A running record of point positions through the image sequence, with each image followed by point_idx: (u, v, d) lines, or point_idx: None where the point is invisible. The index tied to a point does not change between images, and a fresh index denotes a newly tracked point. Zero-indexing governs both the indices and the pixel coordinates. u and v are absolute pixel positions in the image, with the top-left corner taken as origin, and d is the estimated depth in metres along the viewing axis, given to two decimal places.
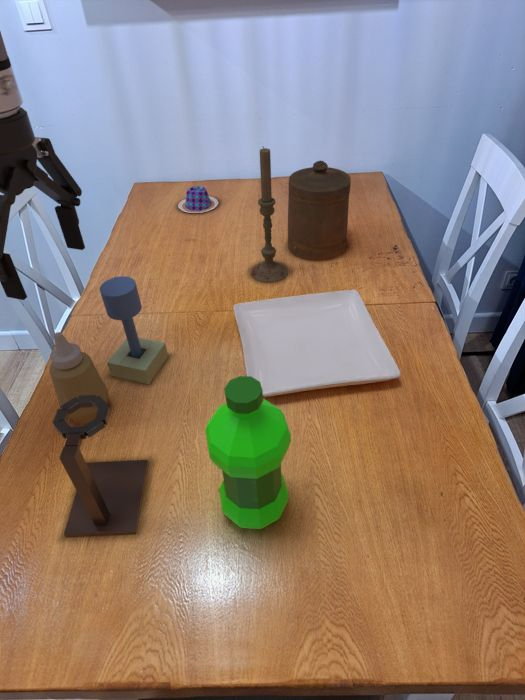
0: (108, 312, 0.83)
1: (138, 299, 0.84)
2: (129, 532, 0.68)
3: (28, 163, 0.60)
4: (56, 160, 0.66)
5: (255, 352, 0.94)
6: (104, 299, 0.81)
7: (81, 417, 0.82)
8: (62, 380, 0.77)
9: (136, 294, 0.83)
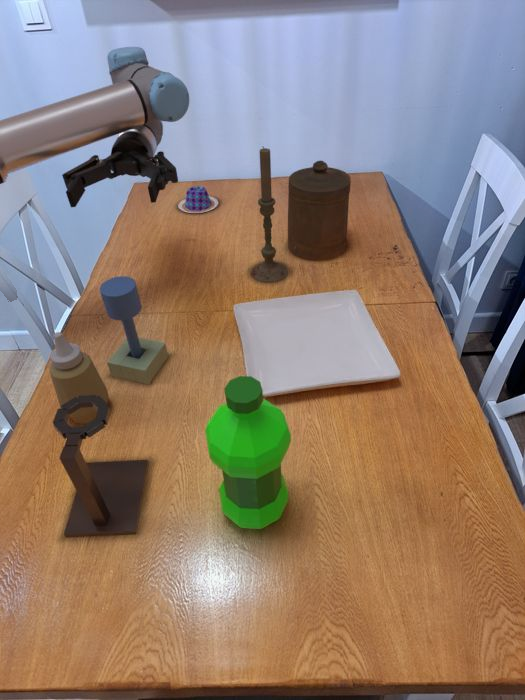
0: (108, 312, 0.83)
1: (138, 299, 0.84)
2: (129, 532, 0.68)
3: None
4: None
5: (255, 352, 0.94)
6: (104, 299, 0.81)
7: (81, 417, 0.82)
8: (62, 380, 0.77)
9: (136, 294, 0.83)
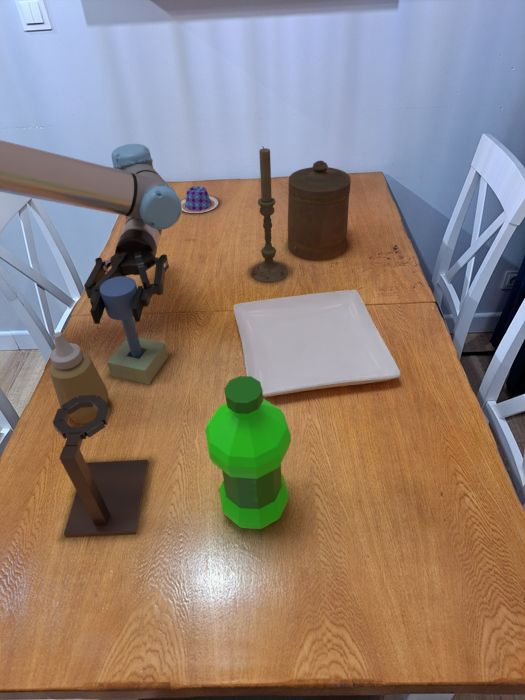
0: (108, 312, 0.83)
1: None
2: (129, 532, 0.68)
3: None
4: None
5: (255, 352, 0.94)
6: (104, 299, 0.81)
7: (81, 417, 0.82)
8: (62, 380, 0.77)
9: None
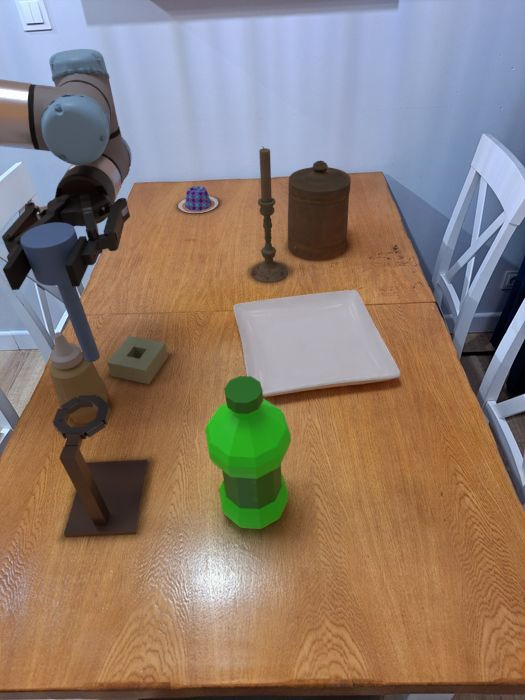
0: (35, 274, 0.57)
1: None
2: (129, 532, 0.68)
3: None
4: None
5: (255, 352, 0.94)
6: (27, 253, 0.55)
7: (81, 417, 0.82)
8: (62, 380, 0.77)
9: None
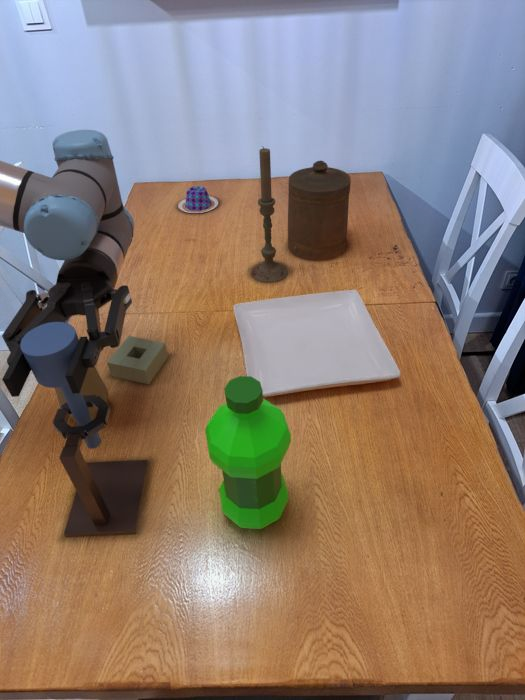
0: (35, 376, 0.56)
1: None
2: (129, 532, 0.68)
3: None
4: None
5: (255, 352, 0.94)
6: (27, 359, 0.54)
7: None
8: None
9: None
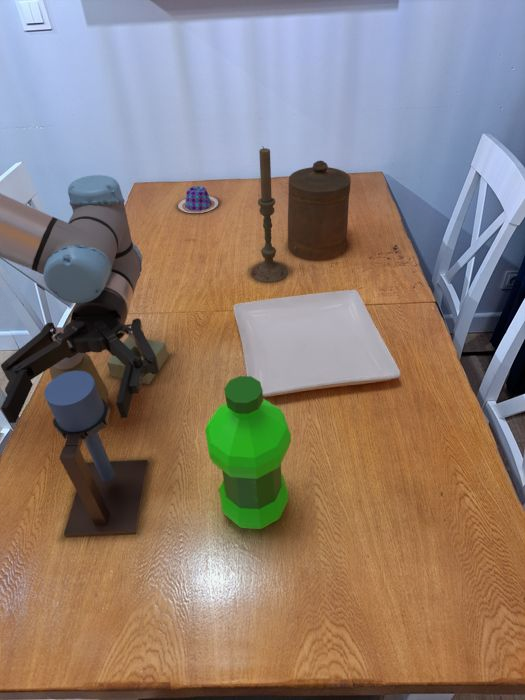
0: (57, 421, 0.61)
1: (98, 403, 0.62)
2: (129, 532, 0.68)
3: None
4: None
5: (255, 352, 0.94)
6: (50, 407, 0.59)
7: None
8: None
9: (95, 397, 0.61)
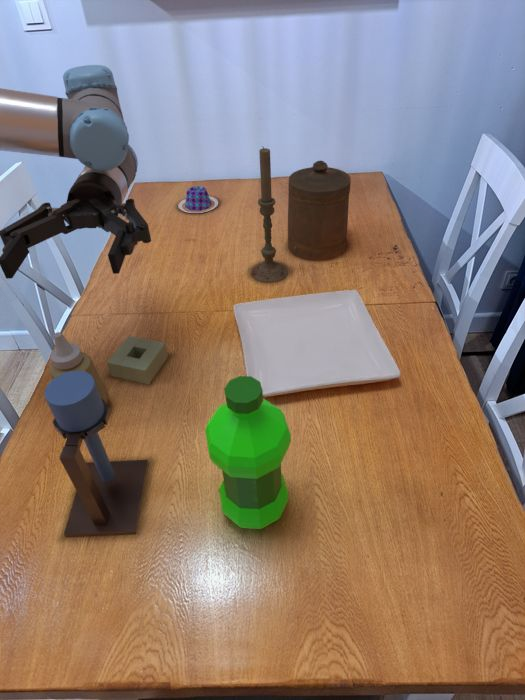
0: (57, 421, 0.61)
1: (98, 403, 0.62)
2: (129, 532, 0.68)
3: None
4: None
5: (255, 352, 0.94)
6: (50, 407, 0.59)
7: None
8: None
9: (95, 397, 0.61)
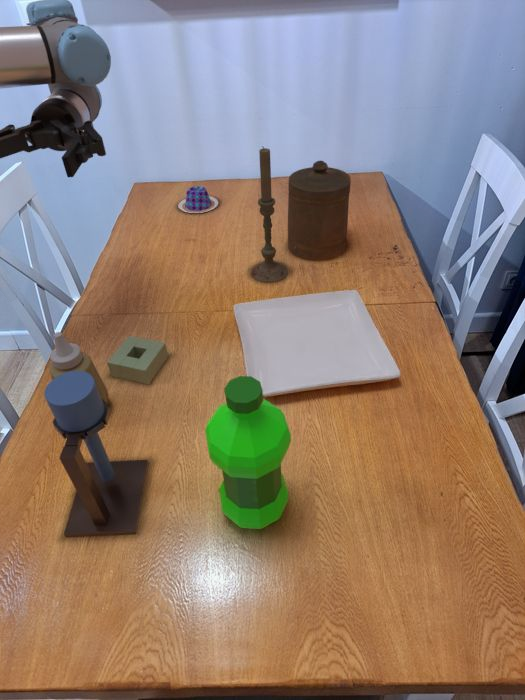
0: (57, 421, 0.61)
1: (98, 403, 0.62)
2: (129, 532, 0.68)
3: (47, 146, 0.79)
4: None
5: (255, 352, 0.94)
6: (50, 407, 0.59)
7: None
8: None
9: (95, 397, 0.61)
